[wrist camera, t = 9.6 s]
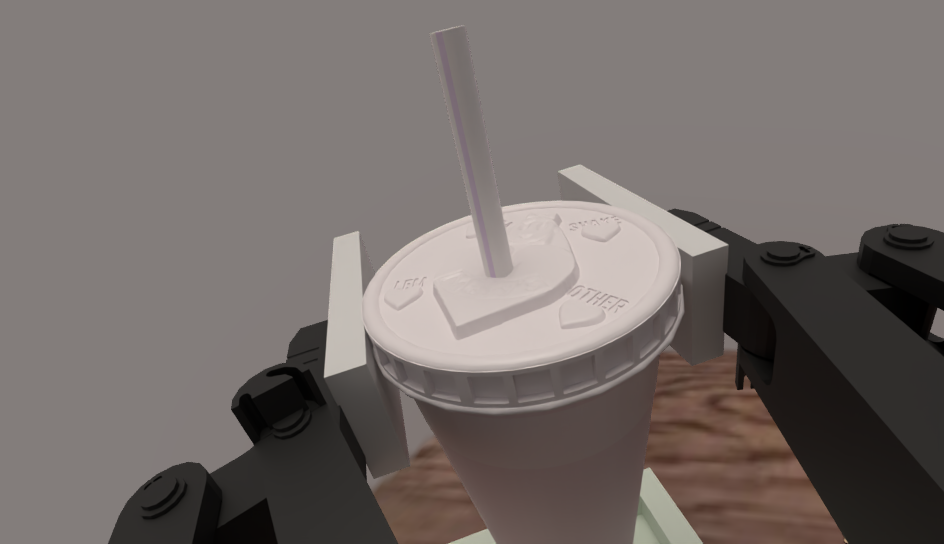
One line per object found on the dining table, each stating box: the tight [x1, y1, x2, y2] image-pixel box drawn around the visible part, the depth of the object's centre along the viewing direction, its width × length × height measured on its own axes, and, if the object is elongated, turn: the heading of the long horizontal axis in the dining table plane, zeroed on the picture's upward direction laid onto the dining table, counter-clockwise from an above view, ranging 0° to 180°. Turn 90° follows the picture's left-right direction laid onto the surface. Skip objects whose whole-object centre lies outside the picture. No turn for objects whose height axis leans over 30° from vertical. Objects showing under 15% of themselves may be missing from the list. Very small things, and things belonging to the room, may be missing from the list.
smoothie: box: [361, 25, 685, 544], centre depth 11 cm, size 6×6×14 cm
